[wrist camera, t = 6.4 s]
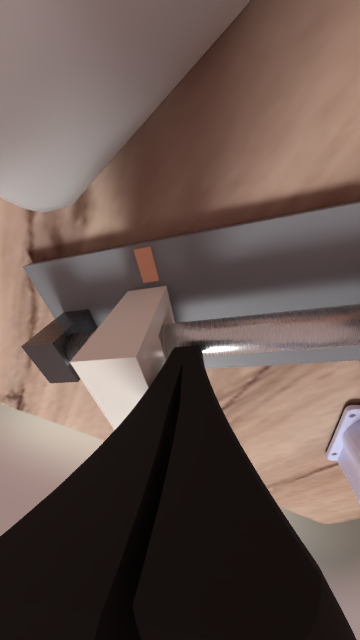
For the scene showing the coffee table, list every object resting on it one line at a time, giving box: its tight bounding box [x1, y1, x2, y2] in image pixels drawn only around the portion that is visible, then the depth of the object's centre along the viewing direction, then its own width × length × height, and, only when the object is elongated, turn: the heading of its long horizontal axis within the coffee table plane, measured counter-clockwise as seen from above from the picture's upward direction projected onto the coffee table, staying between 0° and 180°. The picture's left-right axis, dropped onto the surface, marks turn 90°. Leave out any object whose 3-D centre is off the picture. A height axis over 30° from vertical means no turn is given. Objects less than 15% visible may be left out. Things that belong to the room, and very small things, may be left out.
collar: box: [70, 286, 175, 430], centre depth 10 cm, size 5×2×6 cm, turn 11°
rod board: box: [21, 200, 360, 383], centre depth 11 cm, size 10×24×5 cm, turn 101°
